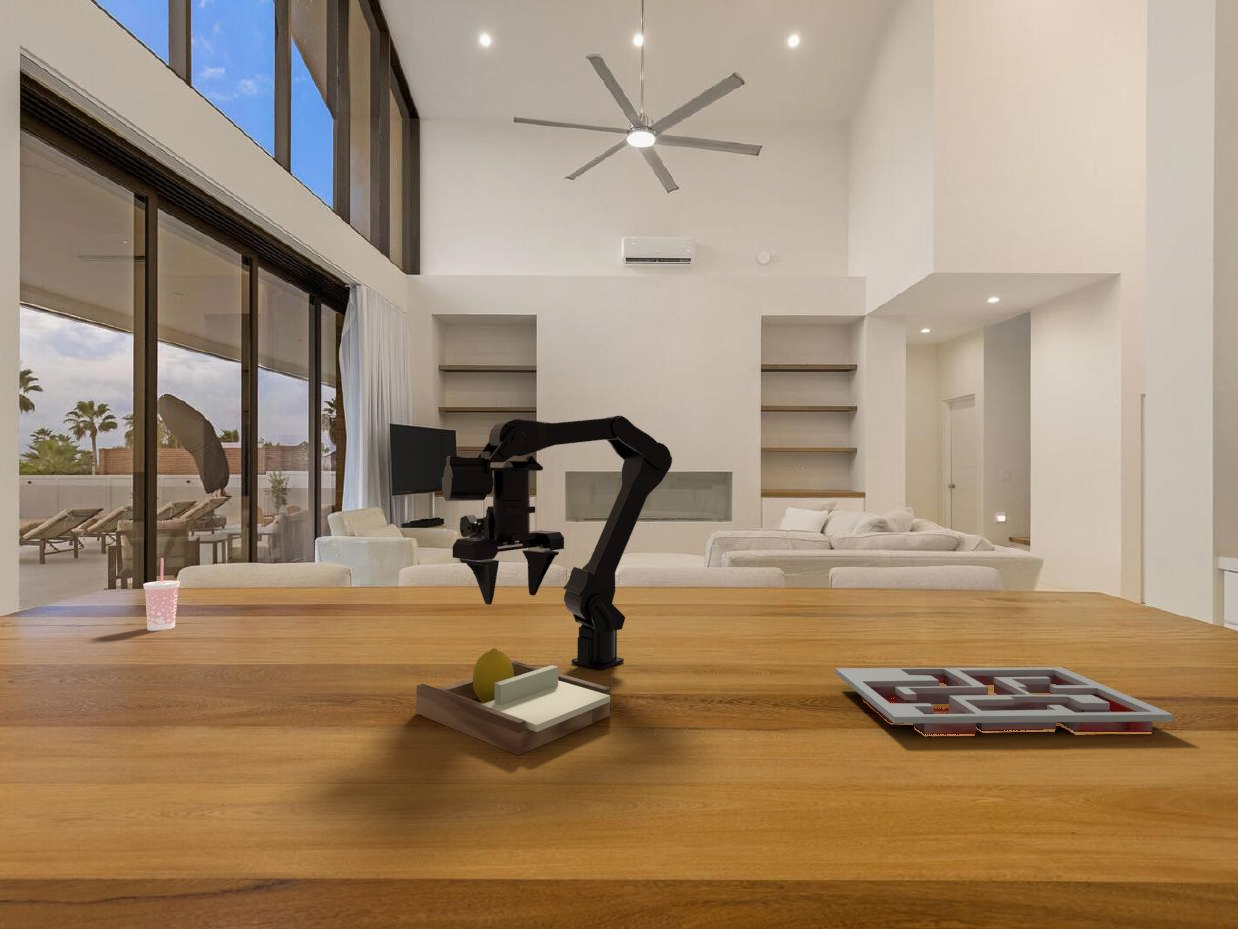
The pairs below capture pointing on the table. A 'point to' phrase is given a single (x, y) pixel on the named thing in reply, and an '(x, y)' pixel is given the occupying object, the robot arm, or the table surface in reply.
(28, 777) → the table surface
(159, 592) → the beverage cup
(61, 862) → the table surface
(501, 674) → the lemon
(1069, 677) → the maze game
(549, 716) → the cover
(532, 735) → the sliding lid box
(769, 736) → the table surface
